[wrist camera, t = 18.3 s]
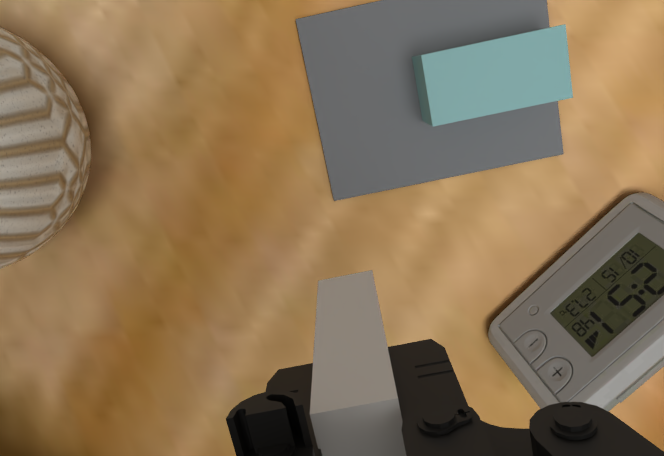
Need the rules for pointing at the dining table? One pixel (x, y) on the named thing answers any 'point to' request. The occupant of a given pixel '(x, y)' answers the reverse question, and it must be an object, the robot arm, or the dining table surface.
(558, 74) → the block
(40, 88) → the vase
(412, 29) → the mat
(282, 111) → the dining table surface
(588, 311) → the digital clock
